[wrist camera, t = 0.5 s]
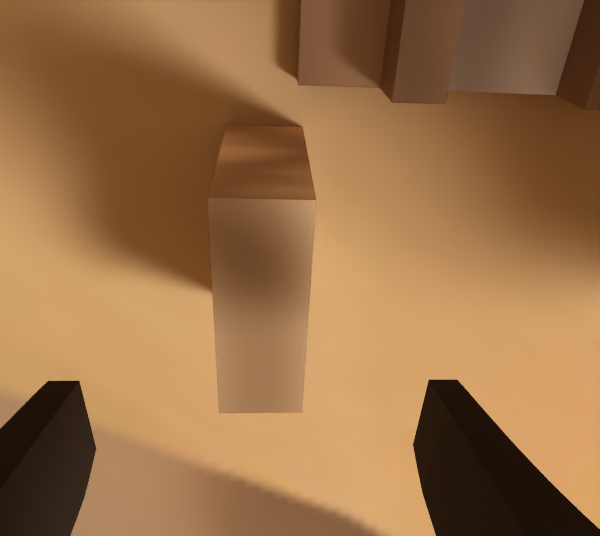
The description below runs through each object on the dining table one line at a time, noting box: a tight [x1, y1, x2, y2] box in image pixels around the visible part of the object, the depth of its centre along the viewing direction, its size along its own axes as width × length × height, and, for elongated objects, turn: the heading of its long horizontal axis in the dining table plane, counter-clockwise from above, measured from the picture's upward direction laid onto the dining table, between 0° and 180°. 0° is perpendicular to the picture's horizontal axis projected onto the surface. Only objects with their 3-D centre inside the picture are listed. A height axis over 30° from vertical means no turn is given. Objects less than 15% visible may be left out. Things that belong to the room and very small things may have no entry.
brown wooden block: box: [207, 124, 316, 413], centre depth 16 cm, size 3×7×6 cm, turn 177°
